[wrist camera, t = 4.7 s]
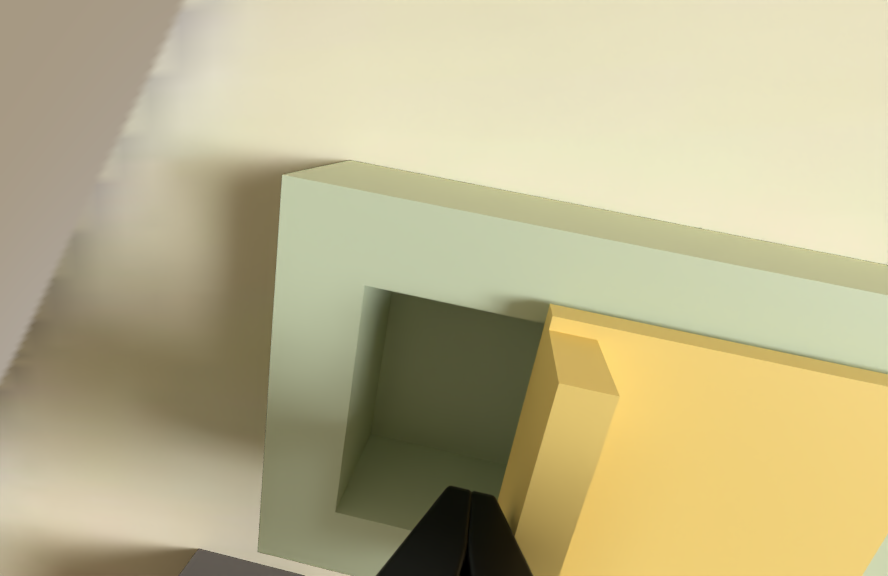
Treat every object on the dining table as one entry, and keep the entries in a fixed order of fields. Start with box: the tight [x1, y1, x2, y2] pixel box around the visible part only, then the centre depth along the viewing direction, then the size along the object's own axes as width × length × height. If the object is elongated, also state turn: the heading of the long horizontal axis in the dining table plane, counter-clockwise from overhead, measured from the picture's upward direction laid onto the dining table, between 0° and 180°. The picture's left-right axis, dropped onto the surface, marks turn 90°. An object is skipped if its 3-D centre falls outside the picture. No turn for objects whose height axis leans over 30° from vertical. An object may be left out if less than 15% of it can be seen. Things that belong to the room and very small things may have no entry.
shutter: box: [498, 304, 888, 576], centre depth 8 cm, size 6×6×2 cm
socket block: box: [258, 160, 888, 576], centre depth 12 cm, size 9×14×4 cm, turn 80°
